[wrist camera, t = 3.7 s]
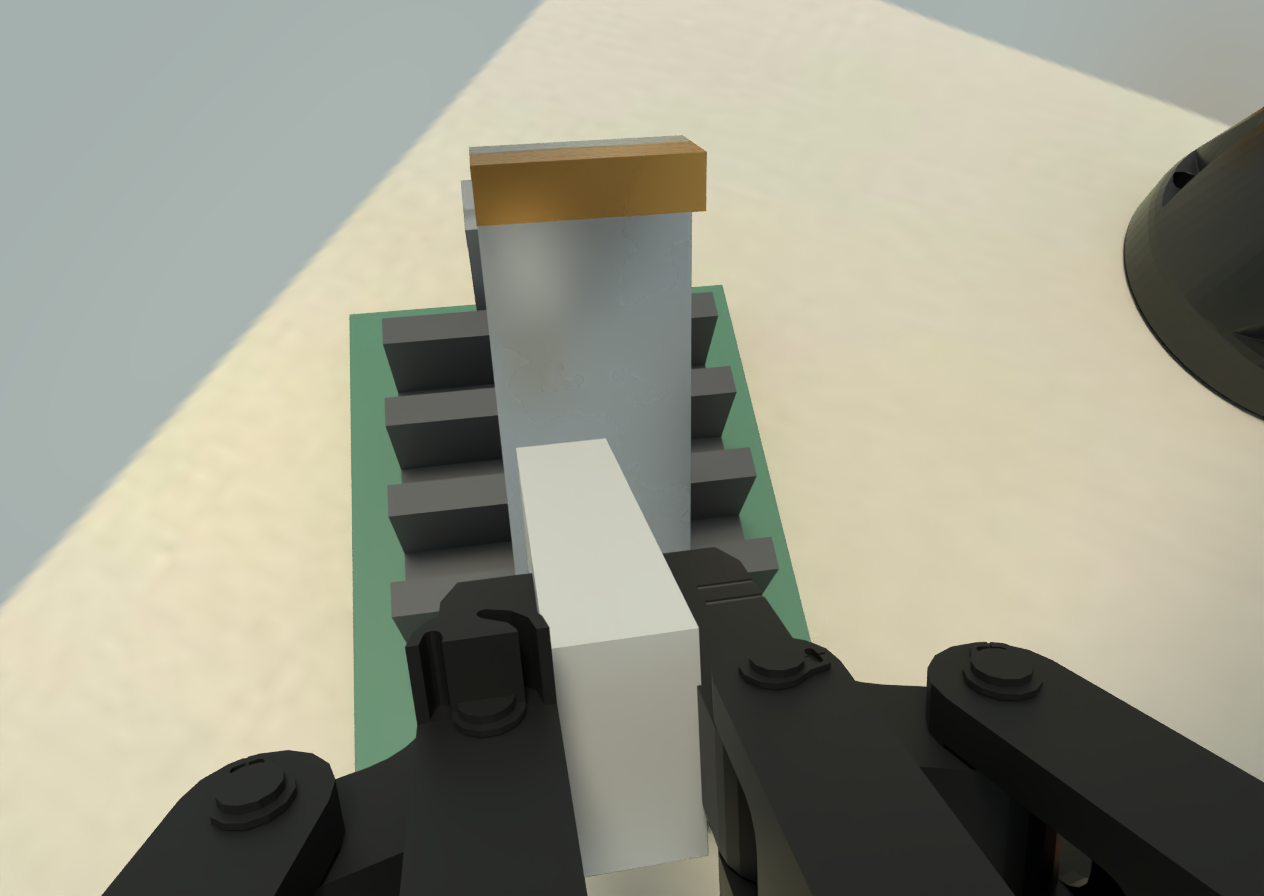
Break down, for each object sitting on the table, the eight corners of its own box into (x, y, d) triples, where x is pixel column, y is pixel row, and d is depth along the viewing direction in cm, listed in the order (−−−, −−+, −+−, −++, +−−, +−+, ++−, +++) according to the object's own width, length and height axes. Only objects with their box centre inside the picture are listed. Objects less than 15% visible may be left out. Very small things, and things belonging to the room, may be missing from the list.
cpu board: (716, 306, 38) (761, 135, 29) (835, 800, 29) (949, 757, 21) (357, 336, 36) (295, 161, 27) (366, 877, 27) (278, 864, 18)
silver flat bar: (678, 133, 17) (706, 152, 15) (680, 703, 24) (699, 766, 22) (468, 144, 16) (469, 166, 15) (532, 725, 23) (538, 791, 21)
